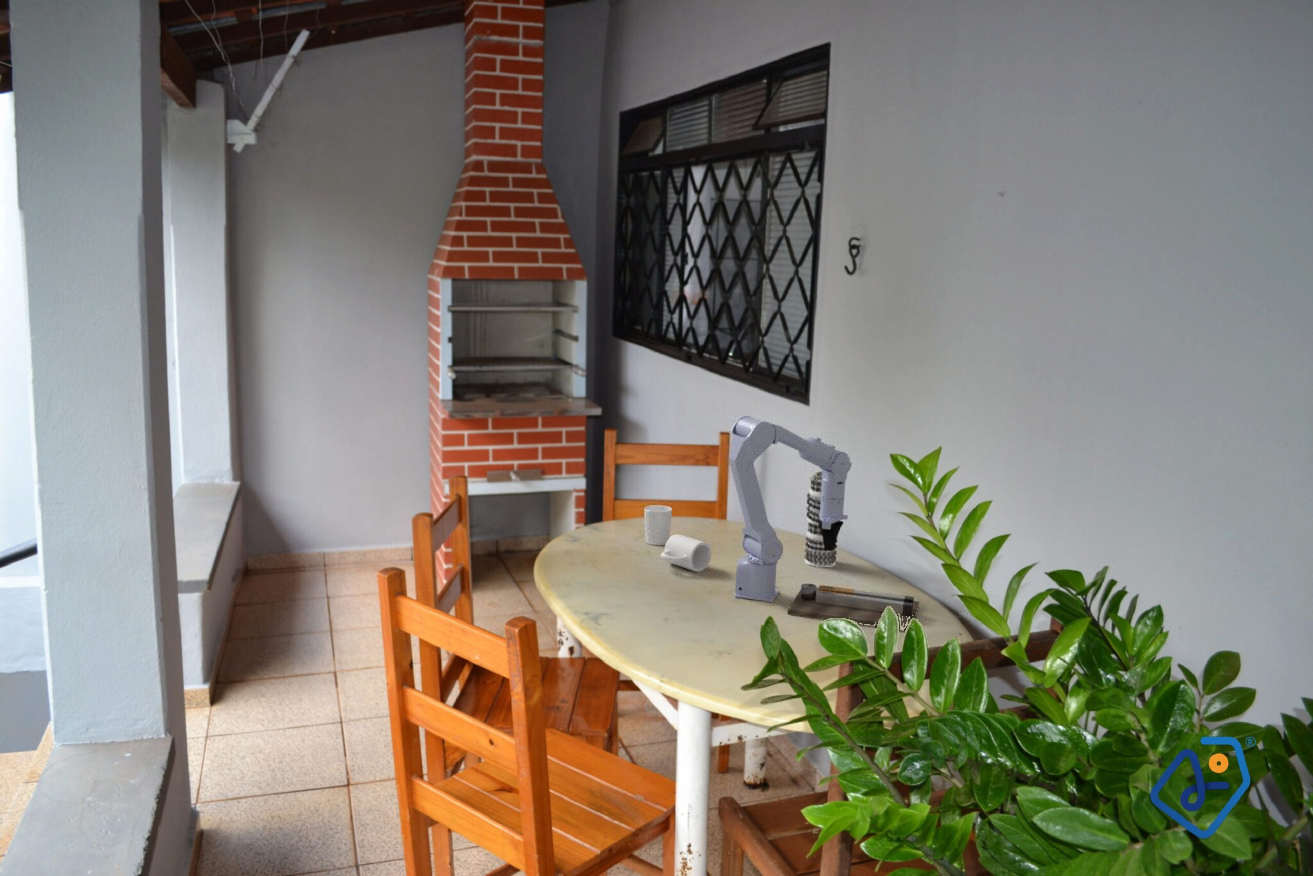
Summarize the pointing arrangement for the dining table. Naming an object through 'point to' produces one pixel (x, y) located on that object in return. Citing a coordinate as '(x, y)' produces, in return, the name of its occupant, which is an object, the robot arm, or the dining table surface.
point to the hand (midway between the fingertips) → (829, 549)
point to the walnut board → (840, 611)
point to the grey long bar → (863, 602)
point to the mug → (687, 552)
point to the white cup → (657, 524)
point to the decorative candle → (816, 528)
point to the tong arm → (810, 593)
